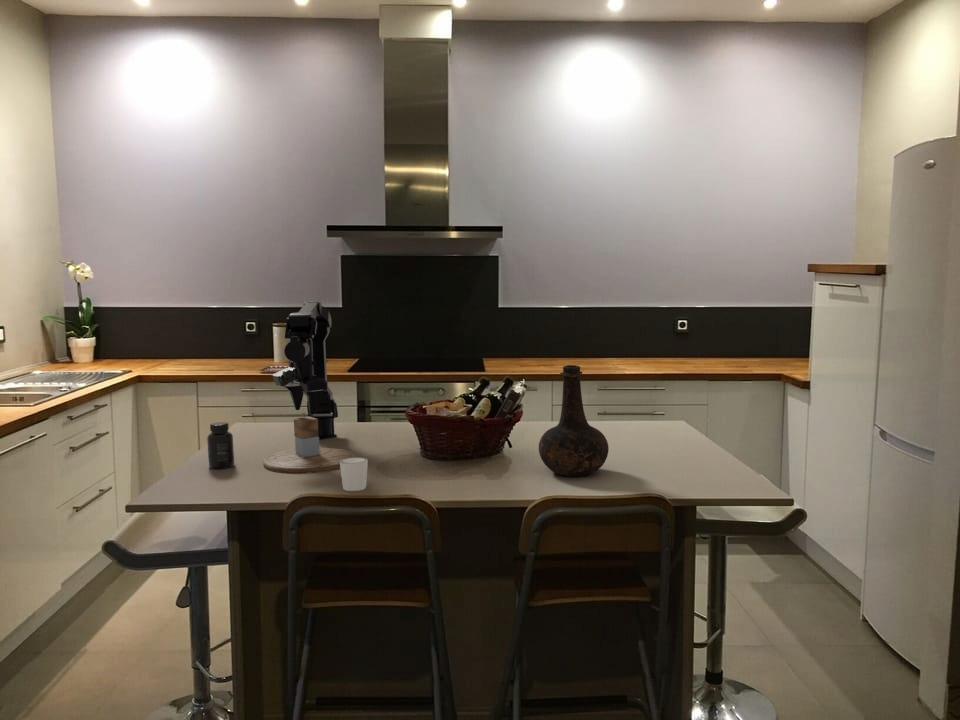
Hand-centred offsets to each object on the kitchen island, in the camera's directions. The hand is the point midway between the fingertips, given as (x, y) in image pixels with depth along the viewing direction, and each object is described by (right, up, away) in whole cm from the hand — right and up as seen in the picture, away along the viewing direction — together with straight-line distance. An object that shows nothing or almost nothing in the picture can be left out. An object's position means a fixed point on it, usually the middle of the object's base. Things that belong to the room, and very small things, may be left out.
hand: (304, 412), depth 241 cm
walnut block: (0, -7, 0) cm, 7 cm away
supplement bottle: (-21, -15, -8) cm, 27 cm away
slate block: (+1, -12, -1) cm, 12 cm away
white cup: (+19, -17, -33) cm, 42 cm away
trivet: (+2, -14, -5) cm, 15 cm away
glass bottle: (+74, -15, -21) cm, 79 cm away
